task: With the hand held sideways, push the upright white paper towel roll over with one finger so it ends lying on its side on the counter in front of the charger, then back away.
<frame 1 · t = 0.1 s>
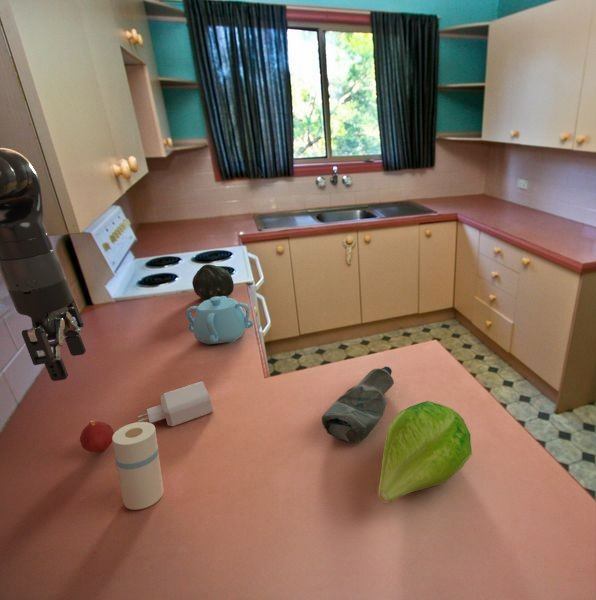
hand: (70, 366, 75), 25 cm above the countertop, tool pointing down, fingers open, 8 cm apart
lettuce: (421, 479, 81), on the countertop
decorative pot: (223, 337, 137), on the countertop
onion: (103, 451, 90), on the countertop
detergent: (366, 411, 100), on the countertop
paper towel roll: (143, 496, 79), on the countertop, tilted 7°
charger: (176, 416, 101), on the countertop
squash: (216, 297, 167), on the countertop
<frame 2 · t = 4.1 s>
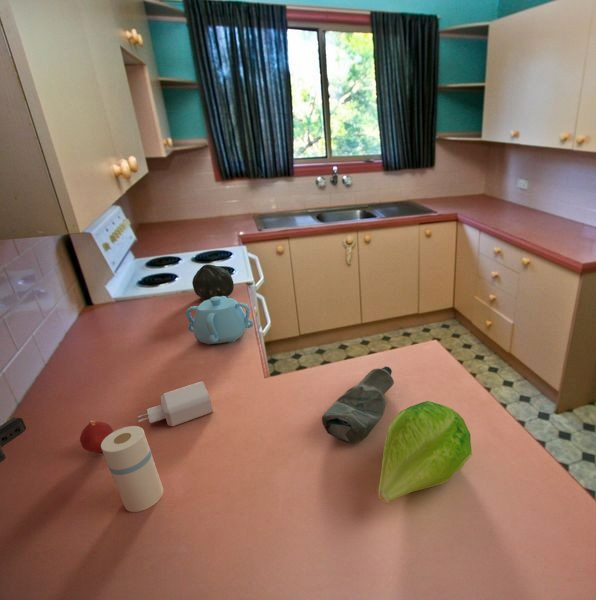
paper towel roll: (144, 497, 79), on the countertop
everything else where it was.
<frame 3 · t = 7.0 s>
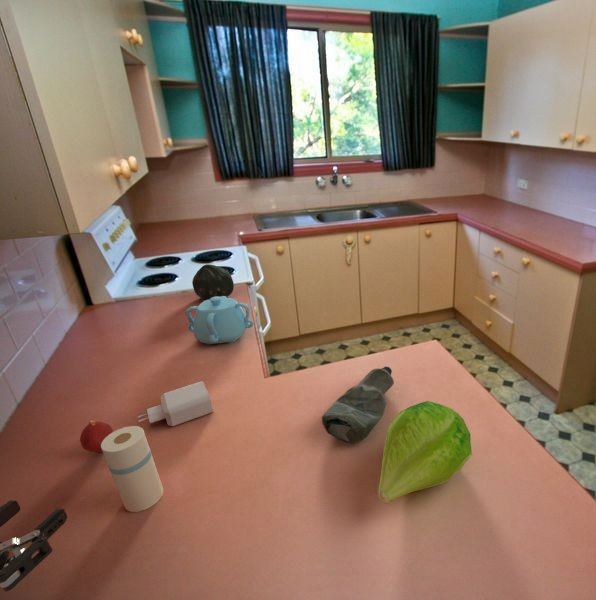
hand: (40, 508, 63), 12 cm above the countertop, tool horizontal, fingers open, 8 cm apart
nothing on the countertop moved.
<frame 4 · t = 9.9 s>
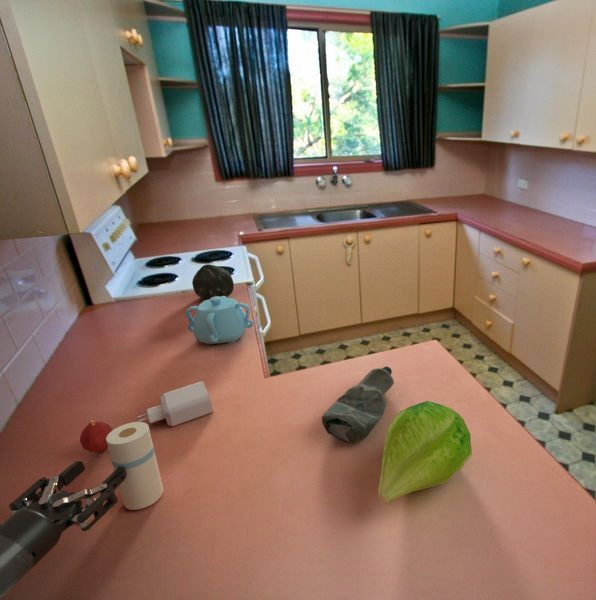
hand: (102, 467, 74), 9 cm above the countertop, tool horizontal, fingers open, 8 cm apart
paper towel roll: (144, 496, 79), on the countertop, touching gripper
everything else where it was.
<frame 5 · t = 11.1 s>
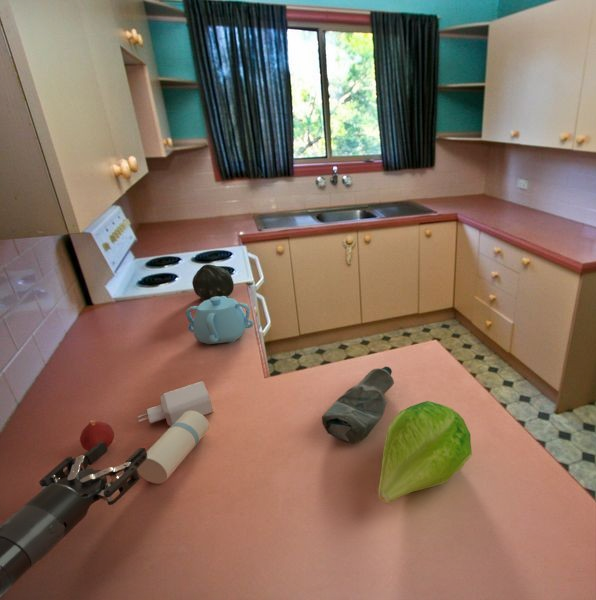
hand: (124, 448, 78), 9 cm above the countertop, tool horizontal, fingers open, 8 cm apart
paper towel roll: (151, 471, 80), point 3 cm above the countertop, tilted 90°
everything else where it was.
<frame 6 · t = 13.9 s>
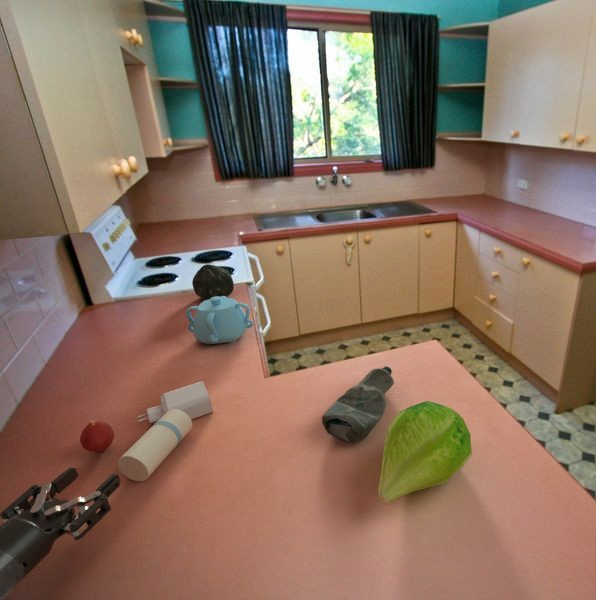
hand: (96, 474, 72), 9 cm above the countertop, tool horizontal, fingers open, 8 cm apart
paper towel roll: (132, 469, 81), point 3 cm above the countertop, tilted 90°
everything else where it was.
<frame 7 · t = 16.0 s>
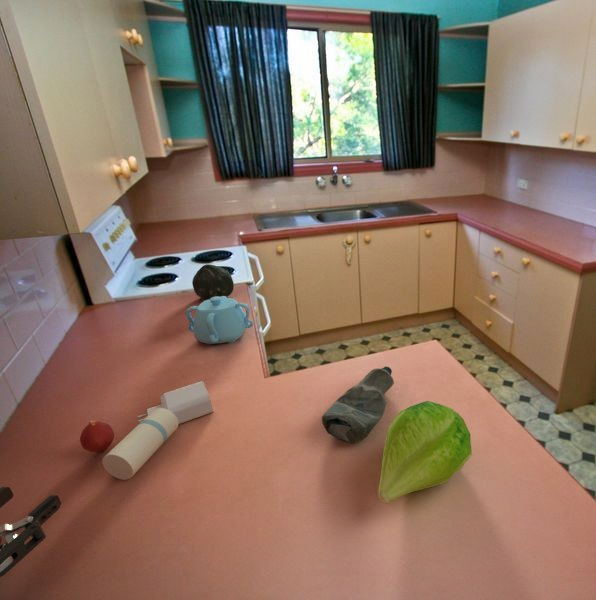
hand: (33, 494, 62), 14 cm above the countertop, tool horizontal, fingers open, 8 cm apart
paper towel roll: (117, 467, 82), point 3 cm above the countertop, tilted 90°
everything else where it was.
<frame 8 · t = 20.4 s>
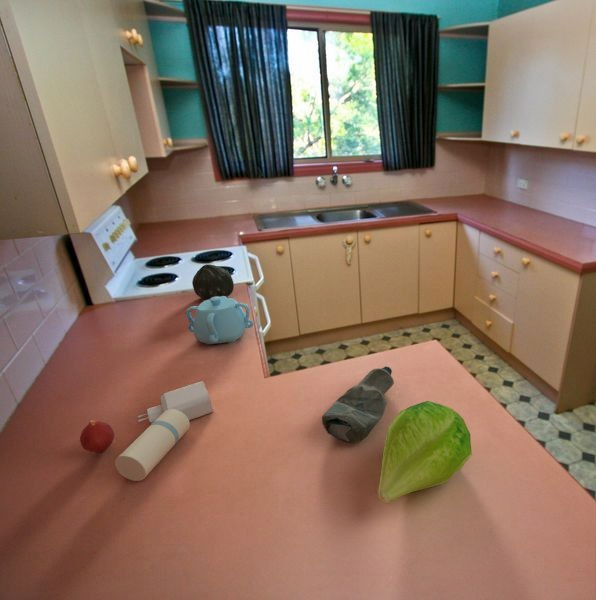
paper towel roll: (130, 468, 81), point 3 cm above the countertop, tilted 90°
everything else where it was.
at the end: paper towel roll tilted 90°; paper towel roll inside the target area on the countertop beside the charger (6.5 cm from its centre), point 3.4 cm above the countertop; charger moved 0.2 cm from its start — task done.
